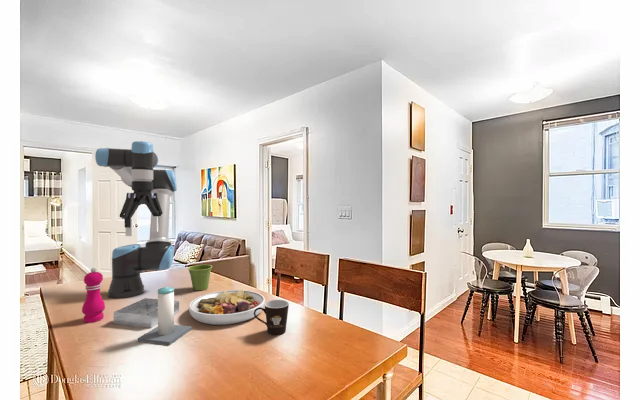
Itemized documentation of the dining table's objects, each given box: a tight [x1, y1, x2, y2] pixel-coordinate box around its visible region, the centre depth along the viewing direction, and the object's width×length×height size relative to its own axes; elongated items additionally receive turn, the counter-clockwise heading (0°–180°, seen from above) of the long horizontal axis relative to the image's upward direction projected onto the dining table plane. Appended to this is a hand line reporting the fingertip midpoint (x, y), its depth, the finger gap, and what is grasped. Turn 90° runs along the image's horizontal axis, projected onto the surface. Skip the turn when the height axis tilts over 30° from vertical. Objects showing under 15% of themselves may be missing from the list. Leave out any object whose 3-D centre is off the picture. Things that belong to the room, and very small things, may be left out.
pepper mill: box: [81, 267, 106, 324], centre depth 121 cm, size 7×7×20 cm
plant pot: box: [187, 264, 213, 292], centre depth 161 cm, size 12×12×11 cm
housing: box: [113, 297, 180, 329], centre depth 124 cm, size 16×16×4 cm
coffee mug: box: [254, 299, 290, 336], centre depth 113 cm, size 12×9×10 cm
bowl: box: [188, 289, 266, 326], centre depth 130 cm, size 30×30×8 cm
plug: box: [157, 286, 175, 335], centre depth 109 cm, size 5×5×15 cm
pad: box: [137, 324, 193, 346], centre depth 109 cm, size 12×12×1 cm
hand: (142, 233), depth 126 cm, fingers open, 13 cm apart
